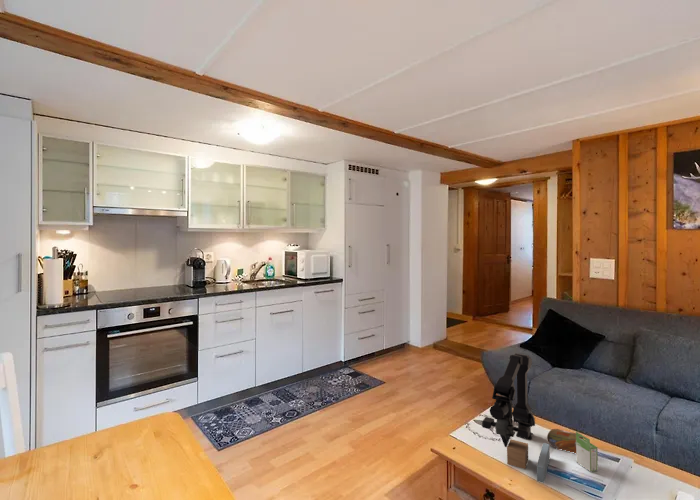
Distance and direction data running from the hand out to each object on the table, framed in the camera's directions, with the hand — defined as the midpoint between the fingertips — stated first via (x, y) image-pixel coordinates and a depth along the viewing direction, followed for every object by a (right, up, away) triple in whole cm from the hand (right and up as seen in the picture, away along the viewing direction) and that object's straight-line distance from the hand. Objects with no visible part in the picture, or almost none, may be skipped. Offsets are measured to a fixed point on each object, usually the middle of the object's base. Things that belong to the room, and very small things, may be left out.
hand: (505, 446), depth 158 cm
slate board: (+12, -5, -8) cm, 15 cm away
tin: (+30, -5, +5) cm, 31 cm away
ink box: (+31, -4, -8) cm, 32 cm away
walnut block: (+4, -5, -3) cm, 7 cm away
